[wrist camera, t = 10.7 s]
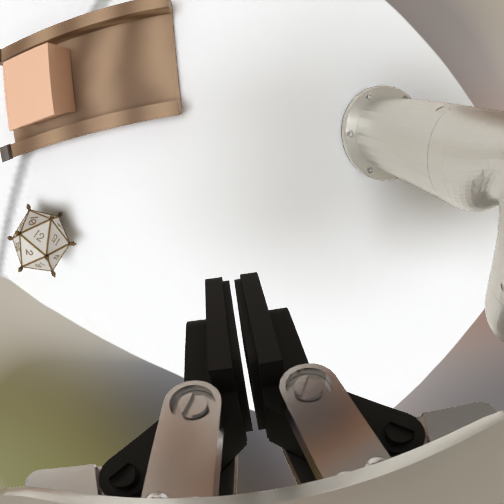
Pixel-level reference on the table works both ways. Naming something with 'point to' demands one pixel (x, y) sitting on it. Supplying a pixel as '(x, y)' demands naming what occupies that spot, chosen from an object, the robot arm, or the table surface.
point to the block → (38, 86)
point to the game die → (40, 241)
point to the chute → (108, 71)
